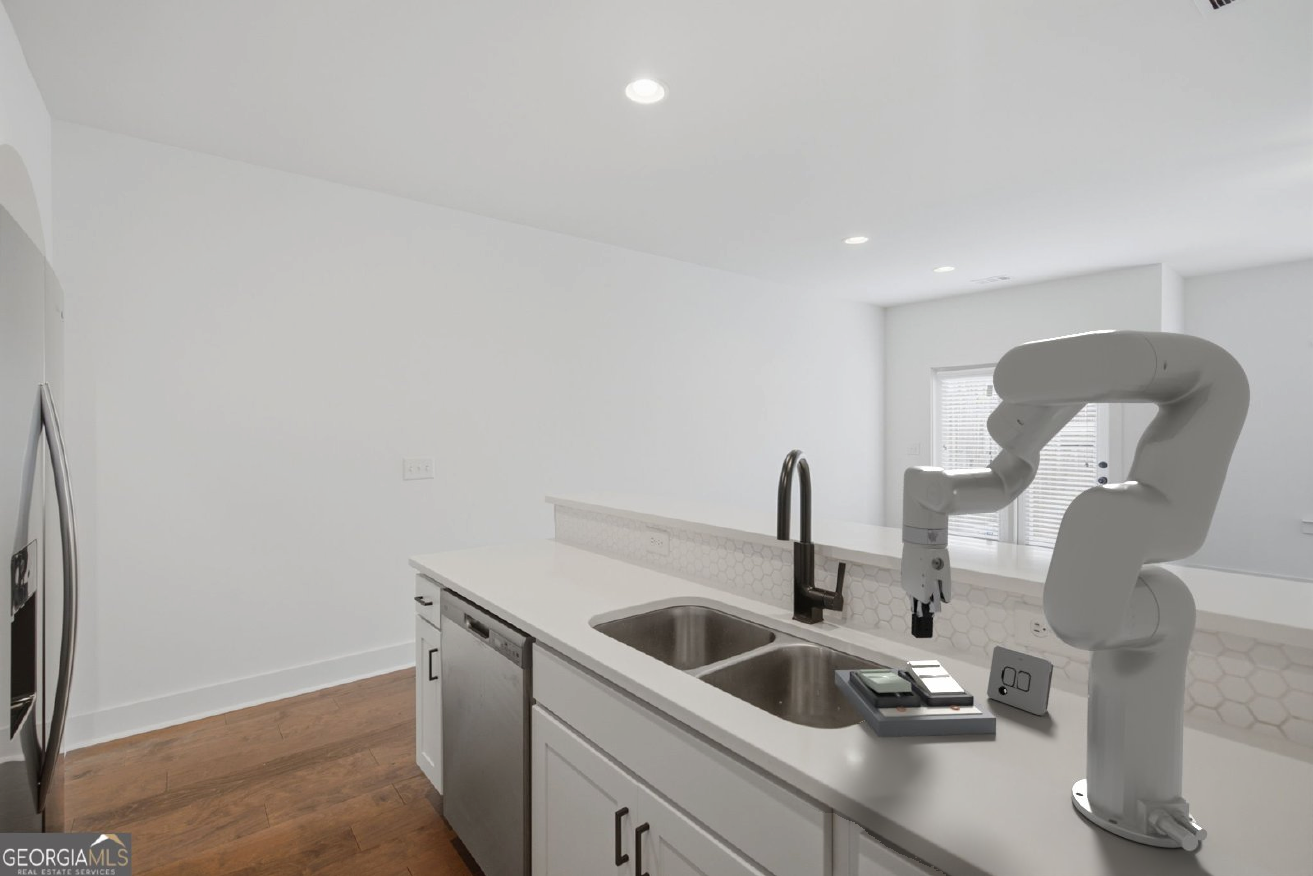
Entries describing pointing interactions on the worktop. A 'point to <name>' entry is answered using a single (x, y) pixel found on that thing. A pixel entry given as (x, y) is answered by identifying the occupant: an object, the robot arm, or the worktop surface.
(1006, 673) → the electrical switch
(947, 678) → the rocker ivory
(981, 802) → the worktop surface
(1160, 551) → the robot arm
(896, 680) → the rocker sage
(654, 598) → the worktop surface
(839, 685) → the switch panel
